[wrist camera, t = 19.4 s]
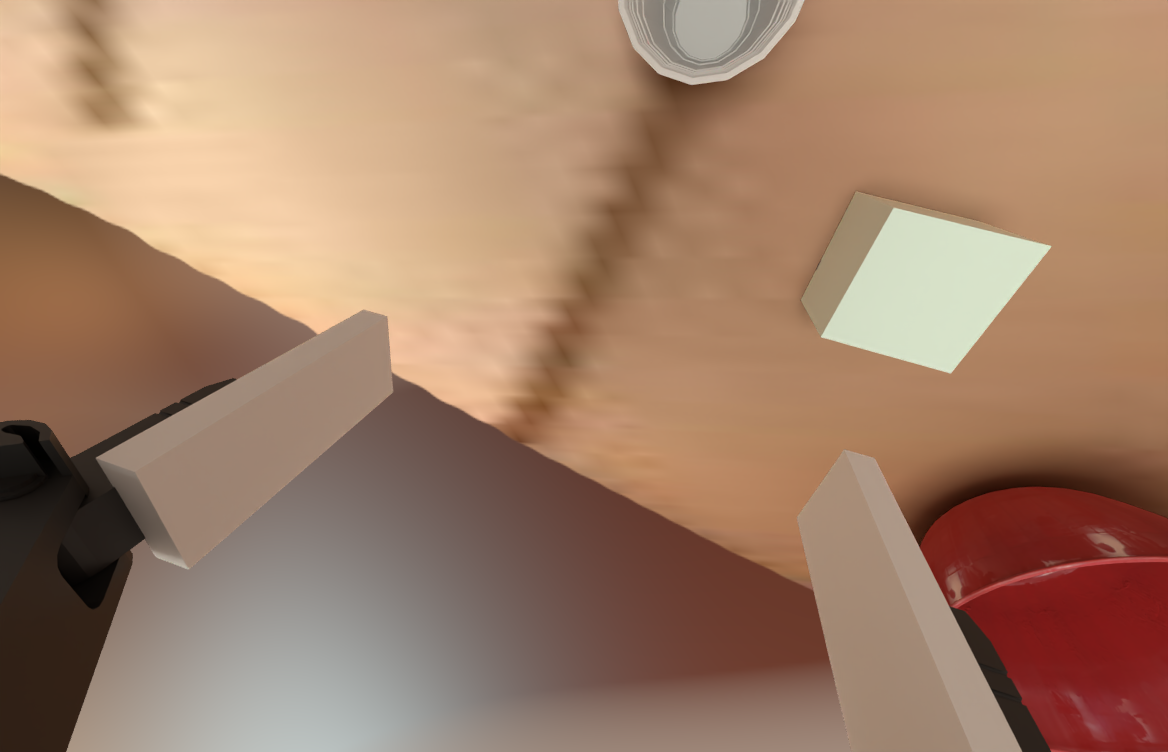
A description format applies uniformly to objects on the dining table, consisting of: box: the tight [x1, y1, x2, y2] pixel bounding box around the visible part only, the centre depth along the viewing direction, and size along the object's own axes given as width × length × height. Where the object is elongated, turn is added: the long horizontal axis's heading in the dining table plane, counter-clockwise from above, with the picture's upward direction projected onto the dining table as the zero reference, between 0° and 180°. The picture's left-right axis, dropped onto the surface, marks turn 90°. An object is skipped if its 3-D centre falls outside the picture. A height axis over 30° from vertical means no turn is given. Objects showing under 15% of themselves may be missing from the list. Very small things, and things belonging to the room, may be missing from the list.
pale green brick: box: [801, 191, 1052, 373], centre depth 35 cm, size 10×10×9 cm
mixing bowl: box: [920, 487, 1168, 752], centre depth 43 cm, size 28×28×16 cm
